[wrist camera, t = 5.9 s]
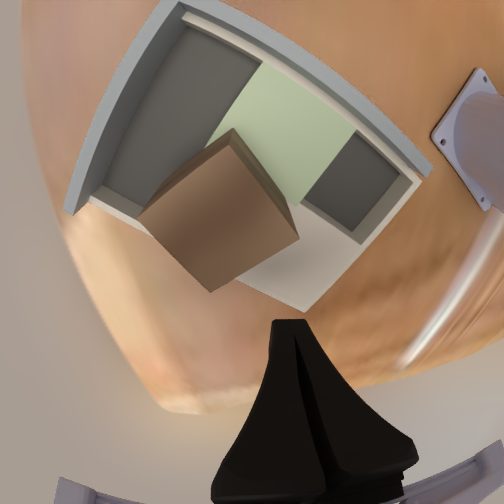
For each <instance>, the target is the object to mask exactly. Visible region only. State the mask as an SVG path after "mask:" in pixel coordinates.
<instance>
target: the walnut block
mask: <svg viewBox="0 0 504 504" xmlns="http://www.w3.org/2000/svg"><path fill="white" fill-rule="evenodd" d="M136 219H137V220H138V221H139V222H140V223H141V224H142V225H143V226H144V227H145V228H146V229H147V230H148V231H149V232H150V234H151V235H152V236H153V237H154V238H155V239H156V240H157V241H158V242H159V243H160V244H161V245H162V246H163V247H164V248H165V249H166V250H167V251H168V252H169V253H170V254H171V255H172V256H173V257H174V258H175V259H176V260H177V261H178V262H179V263H180V264H181V265H182V266H183V267H184V268H185V269H186V270H187V271H188V272H189V273H190V274H191V275H192V276H193V277H194V278H195V279H196V280H197V281H198V282H199V283H200V284H201V285H202V286H203V287H204V288H206V289H207V290H208V291H209V292H210V293H211V292H213V291H214V290H216V289H218V288H219V287H221V286H223V285H224V284H226V283H228V282H229V281H231V280H233V279H234V278H236V277H238V276H240V275H241V274H243V273H245V272H246V271H248V270H250V269H251V268H253V267H255V266H256V265H258V264H259V263H261V262H263V261H264V260H266V259H268V258H269V257H271V256H273V255H274V254H276V253H278V252H279V251H281V250H283V249H284V248H286V247H288V246H289V245H291V244H293V243H294V242H296V241H297V240H299V239H300V238H299V235H298V232H297V230H296V227H295V224H294V221H293V218H292V215H291V213H290V210H289V207H288V204H287V202H286V199H285V196H284V195H283V194H282V192H281V191H280V189H279V188H278V187H277V185H276V184H275V182H274V181H273V180H272V178H271V177H270V176H269V174H268V173H267V172H266V170H265V169H264V167H263V166H262V165H261V163H260V162H259V161H258V159H257V158H256V157H255V155H254V154H253V153H252V151H251V150H250V149H249V147H248V146H247V145H246V144H245V142H244V141H243V140H242V138H241V137H240V136H239V134H238V133H237V132H236V131H235V129H234V128H231V129H230V130H229V131H227V132H226V133H225V134H223V135H222V136H220V137H219V138H218V139H216V140H215V141H214V142H212V143H211V144H210V145H208V146H207V147H206V148H204V149H203V150H202V151H200V152H199V153H198V154H197V155H195V156H194V157H193V158H191V159H190V160H189V161H188V162H186V163H185V164H184V165H183V166H181V167H180V168H179V169H178V170H176V171H175V172H174V173H173V174H172V175H170V176H169V177H168V178H167V179H166V180H164V181H163V183H162V184H161V185H160V187H159V188H158V189H157V191H156V192H155V193H154V195H153V196H152V197H151V199H150V200H149V201H148V203H147V204H146V206H145V207H144V208H143V210H142V211H141V213H140V214H139V215H138V217H137V218H136Z"/></svg>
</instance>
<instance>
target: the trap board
mask: <svg viewBox="0 0 504 504" xmlns="http://www.w3.org/2000/svg"><path fill="white" fill-rule="evenodd" d="M231 128H234V129H235V131H236V132H237V133H238V134H239V136H240V137H241V138H242V140H243V141H244V142H245V144H246V145H247V146H248V147H249V149H250V150H251V151H252V153H253V154H254V155H255V157H256V158H257V159H258V161H259V162H260V163H261V165H262V166H263V167H264V169H265V170H266V172H267V173H268V174H269V176H270V177H271V178H272V180H273V181H274V182H275V184H276V185H277V187H278V188H279V189H280V191H281V192H282V194H283V195H284V196H285V199H286V202H287V204H288V207H289V210H290V213H291V215H292V218H293V221H294V224H295V227H296V230H297V232H298V235H299V238H300V239H299V240H297V241H296V242H294V243H293V244H291V245H289V246H288V247H286V248H284V249H283V250H281V251H279V252H278V253H276V254H274V255H273V256H271V257H269V258H268V259H266V260H264V261H263V262H261V263H259V264H258V265H256V266H255V267H253V268H251V269H250V270H248V271H246V272H245V273H243V274H241V275H240V276H238V277H236V278H234V279H236V280H238V281H240V282H242V283H244V284H246V285H248V286H250V287H252V288H254V289H256V290H258V291H260V292H262V293H264V294H266V295H268V296H270V297H273V298H275V299H277V300H279V301H281V302H283V303H285V304H287V305H289V306H291V307H293V308H296V309H298V310H300V311H302V312H304V313H305V312H306V311H307V310H308V309H309V308H310V307H311V306H312V305H313V304H314V303H315V302H316V301H317V300H318V299H319V298H320V297H321V296H322V295H323V294H324V293H325V292H326V291H327V290H328V289H329V288H330V287H331V286H332V285H333V284H334V283H335V282H336V281H337V279H338V278H339V277H340V276H341V275H342V274H343V273H344V272H345V271H346V270H347V269H348V268H349V267H350V266H351V265H352V264H353V262H354V261H355V260H356V259H357V258H358V257H359V256H360V255H361V254H362V253H363V251H364V250H365V249H366V248H367V247H368V246H369V245H370V244H371V243H372V241H373V240H374V239H375V238H376V237H377V236H378V235H379V233H380V232H381V231H382V230H383V229H384V228H385V226H386V225H387V224H388V223H389V222H390V221H391V219H392V218H393V217H394V216H395V215H396V214H397V212H398V211H399V210H400V209H401V207H402V206H403V205H404V204H405V203H406V201H407V200H408V199H409V198H410V196H411V195H412V194H413V193H414V191H415V190H416V189H417V188H418V186H419V185H420V184H421V183H422V181H421V180H420V179H419V177H418V176H417V175H416V174H415V173H414V172H413V171H412V170H411V169H413V170H414V171H416V172H417V173H419V174H421V175H422V176H424V177H425V178H427V176H428V175H429V174H430V172H431V171H432V170H433V168H434V167H433V166H432V164H431V163H430V162H429V161H428V160H427V159H426V157H425V156H424V155H423V154H422V153H421V152H420V151H419V150H418V148H417V147H416V146H415V145H414V144H413V143H412V142H411V141H410V140H409V139H408V138H407V137H406V135H405V134H404V133H403V132H402V131H401V130H400V129H399V128H398V127H397V126H396V125H395V124H394V123H393V122H392V121H391V120H390V119H389V118H388V117H387V116H386V115H385V114H384V113H382V112H381V111H380V110H379V109H378V108H377V107H376V106H375V105H374V104H373V103H372V102H371V101H369V100H368V99H367V98H366V97H365V96H364V95H363V94H361V93H360V92H359V91H358V90H357V89H356V88H354V87H353V86H352V85H351V84H350V83H348V82H347V81H346V80H345V79H344V78H342V77H341V76H340V75H339V74H337V73H336V72H335V71H333V70H332V69H331V68H329V67H328V66H327V65H325V64H324V63H323V62H321V61H320V60H319V59H317V58H316V57H314V56H313V55H312V54H310V53H309V52H307V51H306V50H304V49H303V48H302V47H300V46H299V45H297V44H296V43H294V42H292V41H291V40H289V39H288V38H286V37H285V36H283V35H281V34H280V33H278V32H277V31H275V30H273V29H271V28H270V27H268V26H266V25H265V24H263V23H261V22H259V21H258V20H256V19H254V18H252V17H250V16H248V15H246V14H245V13H243V12H241V11H239V10H237V9H235V8H233V7H231V6H229V5H227V4H224V3H222V2H220V1H218V0H161V1H160V2H159V4H158V5H157V6H156V8H155V9H154V10H153V12H152V13H151V15H150V16H149V18H148V19H147V20H146V22H145V23H144V25H143V26H142V28H141V30H140V31H139V33H138V34H137V36H136V37H135V39H134V41H133V42H132V44H131V46H130V47H129V49H128V51H127V52H126V54H125V56H124V57H123V59H122V61H121V63H120V65H119V66H118V68H117V70H116V72H115V74H114V76H113V78H112V80H111V82H110V84H109V86H108V88H107V90H106V92H105V94H104V96H103V98H102V100H101V102H100V104H99V107H98V109H97V111H96V113H95V116H94V118H93V120H92V123H91V125H90V128H89V130H88V133H87V135H86V138H85V140H84V143H83V146H82V148H81V151H80V154H79V157H78V159H77V162H76V165H75V168H74V171H73V175H72V178H71V181H70V184H69V188H68V191H67V195H66V198H65V202H64V206H63V210H64V211H66V212H67V213H69V214H71V215H74V214H75V213H76V212H78V211H79V210H80V209H81V208H82V207H83V206H84V205H85V204H86V203H87V202H90V203H91V204H93V205H95V206H97V207H99V208H100V209H102V210H104V211H106V212H108V213H109V214H111V215H113V216H115V217H117V218H119V219H120V220H122V221H124V222H126V223H128V224H130V225H131V226H133V227H135V228H137V229H139V230H141V231H143V232H144V233H146V234H148V235H150V236H152V235H151V234H150V232H149V231H148V230H147V229H146V228H145V227H144V226H143V225H142V224H141V223H140V222H139V221H138V220H137V219H136V218H137V217H138V215H139V214H140V213H141V211H142V210H143V208H144V207H145V206H146V204H147V203H148V201H149V200H150V199H151V197H152V196H153V195H154V193H155V192H156V191H157V189H158V188H159V187H160V185H161V184H162V183H163V181H164V180H166V179H167V178H168V177H169V176H170V175H172V174H173V173H174V172H175V171H176V170H178V169H179V168H180V167H181V166H183V165H184V164H185V163H186V162H188V161H189V160H190V159H191V158H193V157H194V156H195V155H197V154H198V153H199V152H200V151H202V150H203V149H204V148H206V147H207V146H208V145H210V144H211V143H212V142H214V141H215V140H216V139H218V138H219V137H220V136H222V135H223V134H225V133H226V132H227V131H229V130H230V129H231ZM410 168H411V169H410ZM152 237H153V236H152Z"/></svg>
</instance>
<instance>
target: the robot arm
mask: <svg viewBox="0 0 504 504" xmlns="http://www.w3.org/2000/svg"><path fill="white" fill-rule="evenodd" d="M483 78H484V80H483ZM431 138H432V141H433V142H434V143H435V145H436V146H437V147H438V148H439V149H440V151H441V152H442V153H443V155H444V156H445V157H446V158H447V160H448V161H449V162H450V164H451V165H452V166H453V168H454V169H455V170H456V172H457V173H458V175H459V176H460V177H461V179H462V180H463V182H464V183H465V185H466V186H467V188H468V189H469V191H470V192H471V194H472V195H473V197H474V198H475V200H476V201H477V203H478V204H479V206H480V208H481V209H482V210H483V211H487V210H488V209H489V208H490V206H491V205H493V206H495V207H496V208H497V209H499V210H500V211H501V212H503V213H504V96H501V95H499V94H498V92H497V91H496V89H495V87H494V86H493V84H492V82H491V81H490V79H489V78H488V76H487V75H486V73H485V71H484V70H483V69H482V68H476V69H475V71H474V72H473V74H472V75H471V77H470V78H469V80H468V82H467V83H466V85H465V86H464V88H463V89H462V91H461V92H460V94H459V95H458V97H457V98H456V100H455V101H454V102H453V104H452V105H451V107H450V108H449V110H448V111H447V113H446V114H445V115H444V117H443V118H442V120H441V121H440V122H439V124H438V125H437V127H436V128H435V129H434V131H433V132H432V135H431ZM442 139H443V143H442V144H441V140H442ZM418 460H419V456H418V453H417V450H416V447H415V445H414V443H413V440H412V439H411V438H409V437H408V436H406V435H405V434H403V433H402V432H400V431H399V430H398V429H396V428H395V427H393V426H392V425H391V424H390V423H388V422H387V421H386V420H384V419H383V418H382V417H381V416H380V415H378V414H377V413H376V412H375V411H374V410H373V409H372V408H371V407H370V406H368V405H367V404H366V403H365V402H364V401H363V400H362V399H361V398H360V397H359V396H358V395H357V393H356V392H355V391H354V390H353V389H352V388H351V387H350V386H349V384H348V383H347V382H346V381H345V380H344V378H343V377H342V376H341V374H340V373H339V372H338V371H337V369H336V368H335V367H334V365H333V364H332V362H331V361H330V359H329V358H328V356H327V355H326V353H325V352H324V350H323V349H322V347H321V346H320V344H319V342H318V341H317V339H316V337H315V336H314V334H313V332H312V330H311V329H310V327H309V325H308V323H307V321H306V320H305V319H275V320H273V321H272V325H271V333H270V341H269V359H268V364H267V368H266V371H265V374H264V378H263V381H262V384H261V387H260V389H259V392H258V395H257V397H256V400H255V402H254V404H253V407H252V409H251V411H250V413H249V416H248V418H247V420H246V422H245V424H244V425H243V428H242V429H241V431H240V433H239V435H238V437H237V438H236V440H235V442H234V444H233V445H232V447H231V448H230V450H229V451H228V453H227V454H226V456H225V458H224V459H223V461H222V463H221V465H220V467H219V469H218V472H217V474H216V476H215V478H214V480H213V482H212V485H211V500H212V502H213V503H214V504H394V503H397V502H400V501H401V502H400V503H399V504H479V503H480V502H481V501H482V500H484V499H485V498H486V497H487V496H489V495H490V494H492V493H493V492H494V491H496V490H497V489H498V488H499V487H501V486H502V485H503V484H504V448H503V444H502V442H501V440H498V441H496V442H494V443H493V444H491V445H489V446H488V447H486V448H484V449H483V450H482V451H480V452H478V453H477V454H476V455H475V456H473V457H471V458H469V459H467V460H466V461H463V462H462V463H459V464H457V465H455V466H453V467H451V468H449V469H447V470H445V471H443V472H440V473H438V474H436V475H433V476H431V477H428V478H426V479H424V480H421V481H419V482H416V483H413V484H410V485H407V486H405V487H403V486H402V482H401V480H403V479H404V475H403V471H405V470H406V469H408V468H410V467H411V466H413V465H414V464H416V463H417V462H418ZM54 504H143V503H139V502H134V501H130V500H126V499H122V498H117V497H114V496H110V495H107V494H103V493H100V492H96V491H95V490H94V489H91V488H89V487H87V486H84V485H81V484H79V483H76V482H73V481H71V480H68V479H65V478H63V477H59V480H58V485H57V490H56V495H55V500H54Z"/></svg>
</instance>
